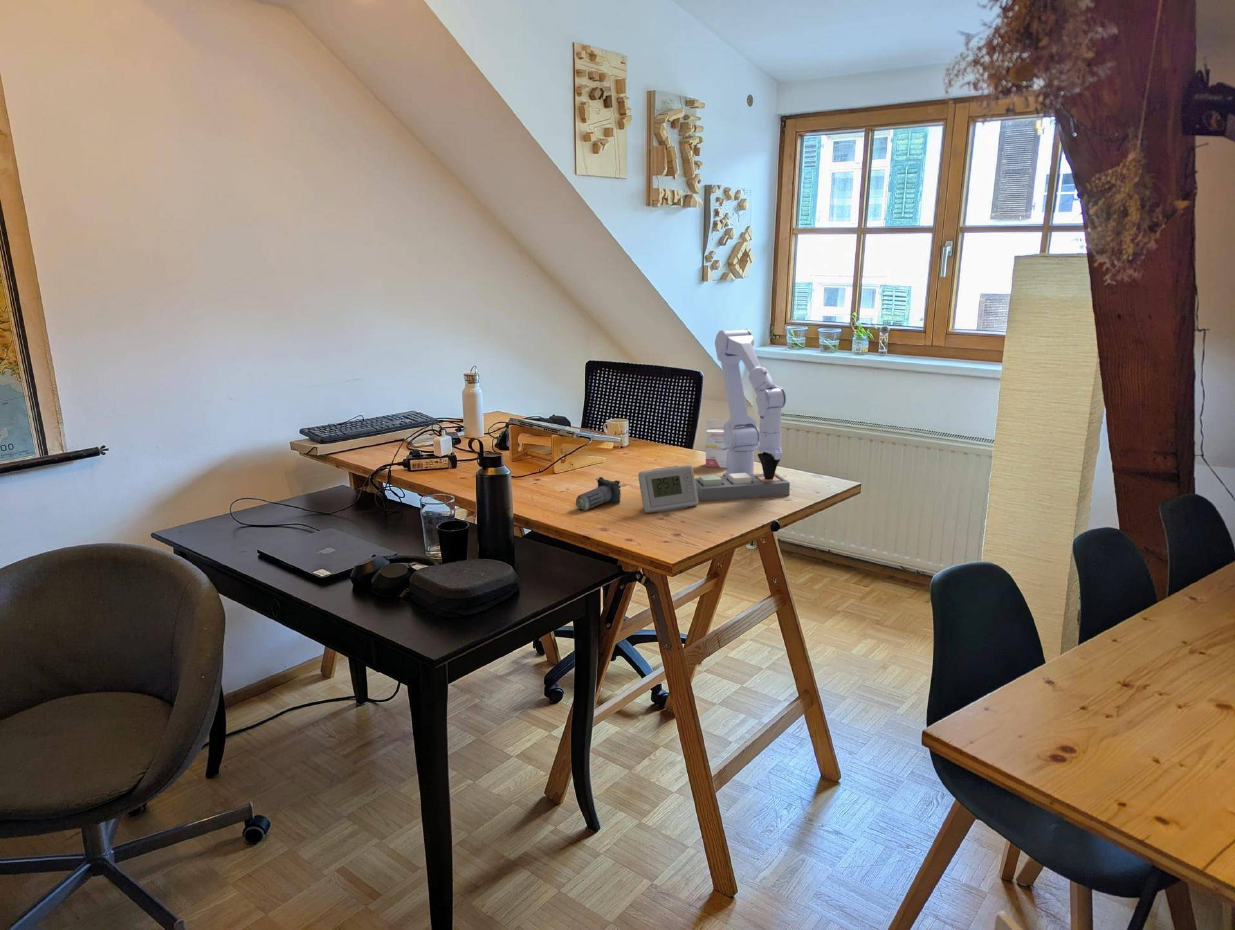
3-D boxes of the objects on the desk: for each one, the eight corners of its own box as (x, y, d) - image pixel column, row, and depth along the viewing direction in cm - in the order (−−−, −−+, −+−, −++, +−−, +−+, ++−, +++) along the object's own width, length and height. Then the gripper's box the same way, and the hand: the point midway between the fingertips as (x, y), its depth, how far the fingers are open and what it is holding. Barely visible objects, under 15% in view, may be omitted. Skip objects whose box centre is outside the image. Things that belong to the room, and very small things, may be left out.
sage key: (699, 481, 222) (699, 475, 221) (716, 480, 222) (716, 474, 222) (704, 486, 217) (704, 480, 216) (721, 485, 218) (721, 479, 217)
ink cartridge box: (705, 467, 250) (705, 422, 246) (705, 464, 255) (705, 419, 251) (733, 467, 249) (733, 422, 246) (732, 464, 254) (733, 419, 250)
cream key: (728, 480, 223) (728, 473, 223) (745, 478, 224) (745, 472, 223) (734, 484, 218) (734, 478, 218) (751, 483, 219) (751, 477, 219)
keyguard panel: (691, 490, 225) (691, 478, 224) (774, 484, 229) (775, 473, 228) (701, 501, 214) (701, 488, 214) (789, 494, 219) (789, 482, 218)
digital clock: (642, 515, 204) (642, 475, 201) (634, 505, 212) (634, 467, 210) (703, 510, 207) (703, 470, 205) (692, 500, 216) (692, 462, 213)
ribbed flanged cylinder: (602, 503, 220) (572, 516, 211) (597, 476, 218) (566, 488, 210) (626, 503, 213) (597, 516, 205) (621, 475, 212) (590, 487, 204)
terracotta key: (757, 483, 225) (757, 476, 224) (773, 481, 226) (774, 475, 225) (763, 487, 220) (763, 481, 219) (780, 486, 221) (780, 480, 220)
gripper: (747, 427, 225) (746, 473, 229) (765, 437, 211) (764, 486, 215) (771, 426, 226) (770, 471, 230) (790, 436, 213) (788, 484, 216)
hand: (768, 478), depth 222 cm, fingers closed, pressing on terracotta key
